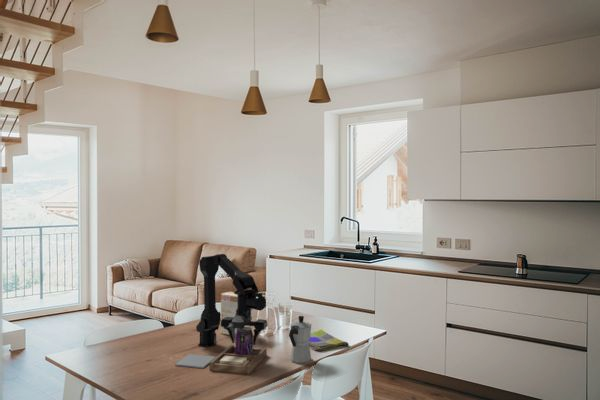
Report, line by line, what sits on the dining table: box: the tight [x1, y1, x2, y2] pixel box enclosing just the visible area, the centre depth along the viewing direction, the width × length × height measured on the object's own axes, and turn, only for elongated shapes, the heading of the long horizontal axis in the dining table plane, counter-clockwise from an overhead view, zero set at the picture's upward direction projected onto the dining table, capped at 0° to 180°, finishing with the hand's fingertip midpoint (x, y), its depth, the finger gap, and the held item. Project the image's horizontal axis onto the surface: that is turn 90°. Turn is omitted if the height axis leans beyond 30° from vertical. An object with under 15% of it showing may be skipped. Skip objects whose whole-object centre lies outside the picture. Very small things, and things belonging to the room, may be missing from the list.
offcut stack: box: [220, 356, 250, 366], centre depth 185 cm, size 11×6×4 cm, turn 77°
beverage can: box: [234, 327, 254, 356], centre depth 196 cm, size 7×7×12 cm
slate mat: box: [174, 353, 217, 369], centre depth 191 cm, size 12×12×1 cm
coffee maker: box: [288, 315, 312, 364], centre depth 193 cm, size 15×9×18 cm, turn 150°
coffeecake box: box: [220, 291, 254, 336], centre depth 229 cm, size 15×7×20 cm, turn 58°
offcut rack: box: [209, 344, 268, 375], centre depth 191 cm, size 16×22×3 cm
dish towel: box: [308, 329, 349, 352], centre depth 219 cm, size 18×24×3 cm
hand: (243, 343), depth 196 cm, fingers open, 9 cm apart
